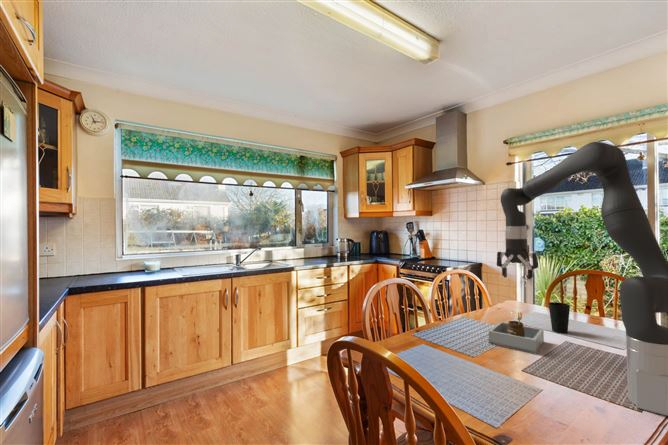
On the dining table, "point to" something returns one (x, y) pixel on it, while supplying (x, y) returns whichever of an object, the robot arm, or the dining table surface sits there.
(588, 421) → the dining table surface
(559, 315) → the cup
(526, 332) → the bin
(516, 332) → the utensil holder
